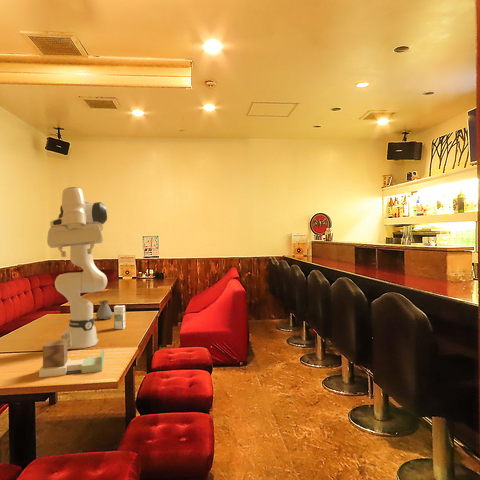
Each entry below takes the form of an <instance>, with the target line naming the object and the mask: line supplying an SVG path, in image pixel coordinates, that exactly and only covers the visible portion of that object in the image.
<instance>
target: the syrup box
mask: <svg viewBox="0 0 480 480" xmlns="http://www.w3.org/2000/svg"><path fill="white" fill-rule="evenodd" d="M113 325H114V326H113V330H124V329H125V328H126V304H125V305H118V304H117V305H114V306H113Z"/></svg>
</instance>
